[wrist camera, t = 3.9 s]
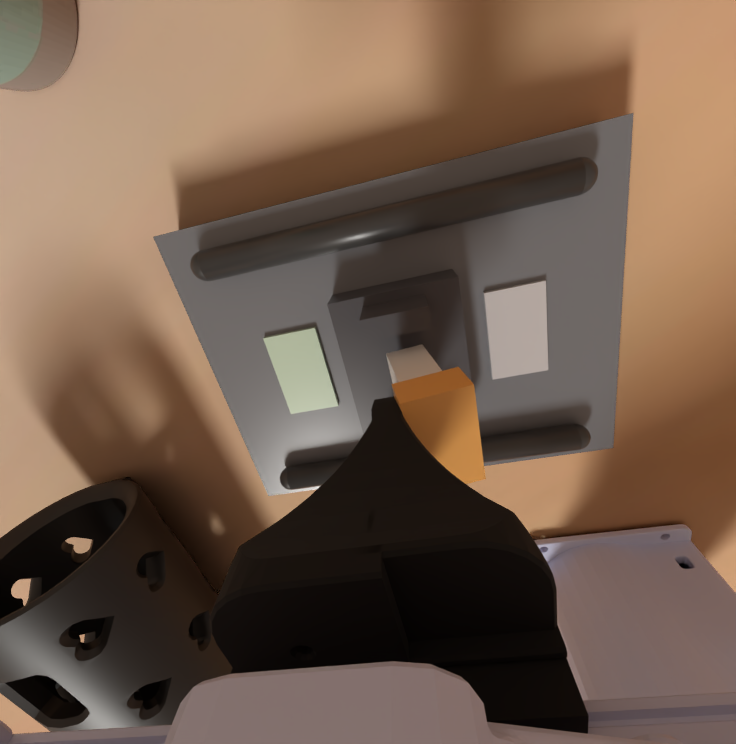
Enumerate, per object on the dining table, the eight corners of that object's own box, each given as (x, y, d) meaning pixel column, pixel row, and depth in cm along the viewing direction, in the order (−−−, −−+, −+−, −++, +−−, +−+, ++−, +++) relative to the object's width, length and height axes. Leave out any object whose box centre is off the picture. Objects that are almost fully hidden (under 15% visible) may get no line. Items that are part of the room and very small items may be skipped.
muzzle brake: (185, 452, 23) (44, 634, 13) (335, 694, 34) (315, 883, 25) (57, 482, 24) (-149, 662, 15) (241, 703, 36) (188, 884, 26)
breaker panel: (602, 122, 14) (702, 90, 10) (593, 424, 20) (653, 494, 16) (178, 231, 17) (99, 247, 12) (278, 471, 23) (249, 542, 18)
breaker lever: (428, 332, 14) (474, 384, 10) (440, 405, 15) (485, 478, 11) (375, 345, 14) (399, 404, 10) (392, 418, 15) (419, 496, 11)
